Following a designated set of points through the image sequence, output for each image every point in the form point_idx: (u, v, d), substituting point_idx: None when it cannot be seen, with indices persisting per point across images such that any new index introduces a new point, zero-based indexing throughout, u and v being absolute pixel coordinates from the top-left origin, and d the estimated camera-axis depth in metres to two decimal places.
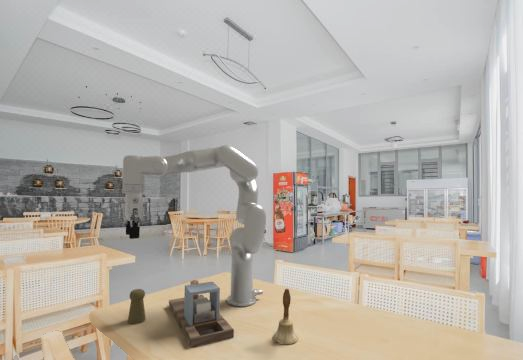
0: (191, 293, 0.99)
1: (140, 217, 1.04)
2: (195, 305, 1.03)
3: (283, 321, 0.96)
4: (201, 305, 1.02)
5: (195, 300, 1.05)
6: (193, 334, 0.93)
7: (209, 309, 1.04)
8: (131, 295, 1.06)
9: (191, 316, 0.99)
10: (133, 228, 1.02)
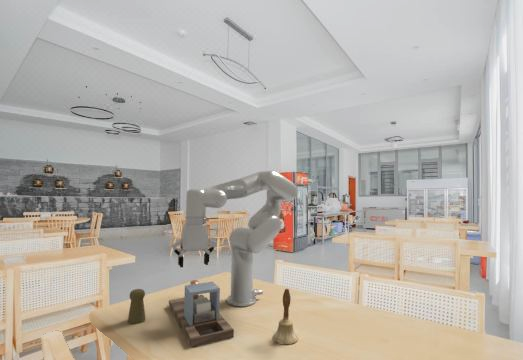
0: (191, 293, 0.99)
1: None
2: (195, 305, 1.03)
3: (283, 321, 0.96)
4: (201, 305, 1.02)
5: (195, 300, 1.05)
6: (193, 334, 0.93)
7: (209, 309, 1.04)
8: (131, 295, 1.06)
9: (191, 316, 0.99)
10: (208, 255, 1.16)
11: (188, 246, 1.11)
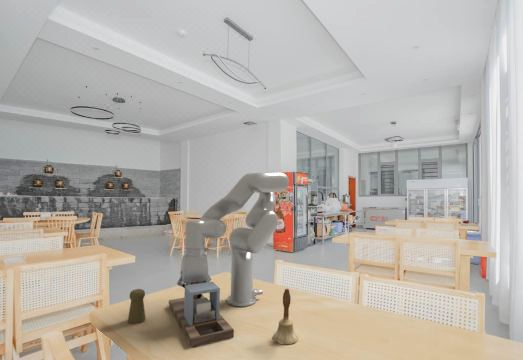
0: (191, 293, 0.99)
1: None
2: (195, 305, 1.03)
3: (283, 321, 0.96)
4: (201, 305, 1.02)
5: (195, 300, 1.05)
6: (193, 334, 0.93)
7: (209, 309, 1.04)
8: (131, 295, 1.06)
9: (191, 316, 0.99)
10: None
11: (188, 278, 1.11)
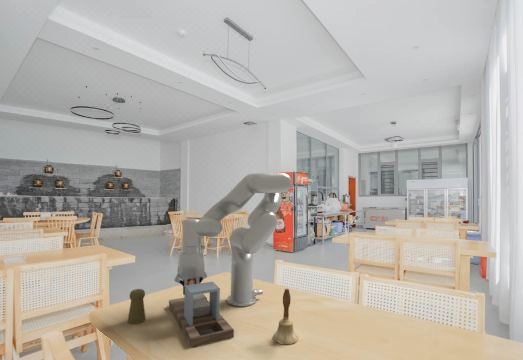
0: (191, 293, 0.99)
1: None
2: None
3: (283, 321, 0.96)
4: (198, 301, 1.06)
5: None
6: (193, 334, 0.93)
7: (205, 305, 1.07)
8: (131, 295, 1.06)
9: (191, 316, 0.99)
10: None
11: (185, 274, 1.15)
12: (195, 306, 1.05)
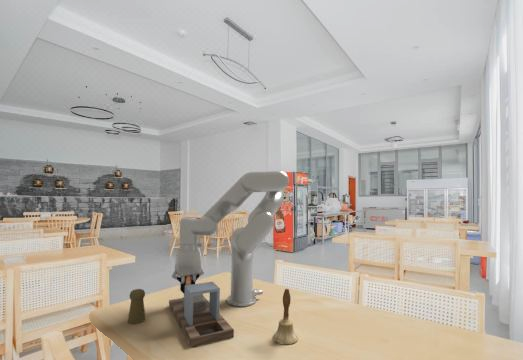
0: (191, 293, 0.99)
1: None
2: None
3: (283, 321, 0.96)
4: (194, 297, 1.10)
5: None
6: (193, 334, 0.93)
7: (201, 300, 1.12)
8: (131, 295, 1.06)
9: (191, 316, 0.99)
10: (194, 282, 1.23)
11: (182, 271, 1.19)
12: None
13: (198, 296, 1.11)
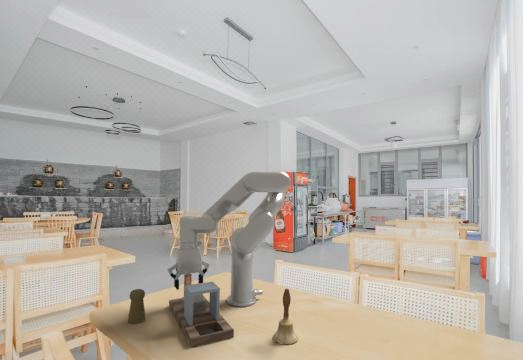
0: (191, 293, 0.99)
1: None
2: None
3: (283, 321, 0.96)
4: (194, 296, 1.10)
5: None
6: (193, 334, 0.93)
7: (201, 300, 1.12)
8: (131, 295, 1.06)
9: (191, 316, 0.99)
10: (202, 276, 1.25)
11: (183, 270, 1.20)
12: None
13: (198, 296, 1.11)
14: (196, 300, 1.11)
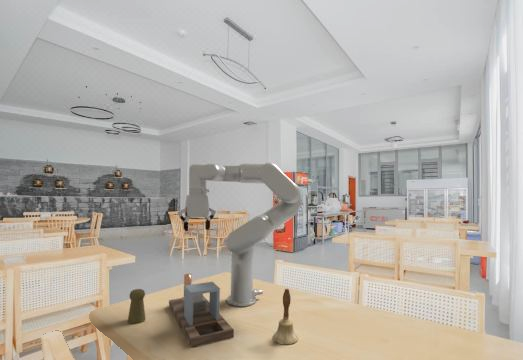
0: (191, 293, 0.99)
1: None
2: None
3: (283, 321, 0.96)
4: (194, 296, 1.10)
5: None
6: (193, 334, 0.93)
7: (201, 300, 1.12)
8: (131, 295, 1.06)
9: (191, 316, 0.99)
10: (209, 221, 1.34)
11: (192, 213, 1.29)
12: None
13: (198, 296, 1.11)
14: (196, 300, 1.11)
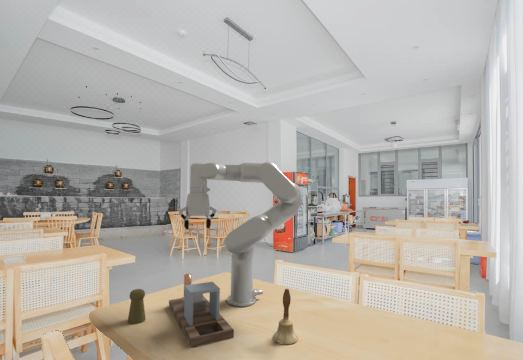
0: (191, 293, 0.99)
1: None
2: None
3: (283, 321, 0.96)
4: (194, 296, 1.10)
5: None
6: (193, 334, 0.93)
7: (201, 300, 1.12)
8: (131, 295, 1.06)
9: (191, 316, 0.99)
10: (210, 220, 1.35)
11: (192, 211, 1.30)
12: None
13: (198, 296, 1.11)
14: (196, 300, 1.11)
